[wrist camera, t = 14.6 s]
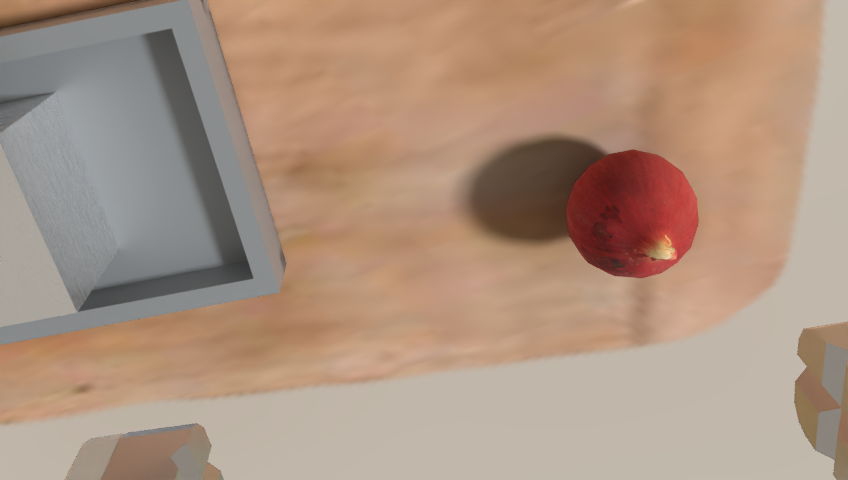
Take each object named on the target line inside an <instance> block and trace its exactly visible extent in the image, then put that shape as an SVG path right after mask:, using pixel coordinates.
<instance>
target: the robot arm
mask: <svg viewBox="0 0 848 480" xmlns="http://www.w3.org/2000/svg"><path fill="white" fill-rule="evenodd" d="M797 355H798V356H799V357H800V358H801V359H802V361H803V362H804V363H805V365H806V366H807V368H806V369H805V370H804V371H803V372H802V374H801V375H800V376H799V377H798V379H797V380H796V381H795V398H794V399H795V400H794V402H795V407H796V411H797V416H798V420H799V423H800V425H801V427H802V429H803V432H804V434H805V436H806V437H807V439H808V440H809V442H810V443H811V445H812V446H813V448H814V449H815V450H816V451H818V452H820V453H822V454H824V455H826V456H828V457H830V458H832V459H834V460H835V463H834V472H833V475H834V477H835V478H836V479H837V480H848V322H843V323H837V324H830V325H824V326H818V327H812V328H806V329H803V331H802V333H801V336H800V338H799V343H798V354H797ZM210 449H211V444H210V442H209V439H208V436H207V434H206V432H205V429H204V427H202V426H201V425H199V424H189V425H182V426H174V427H167V428H159V429H152V430H144V431H137V432H129V433H126V434H117V435H110V436H104V437H97V438H91V439H90V440H88V441H87V442H85V443H84V444H83V445H82V446H81V448H80V450H79V452H78V454H77V456H76V458H75V460H74V462H73V464H72V467H71V468H70V470H69V472H68V474H67V476H66V478H65V480H223V476H222V474H221V471H220V470H219V469H217V468H216V467H214V466H213V465H211V464H210V463H208V462H207V460H208V457H209V453H210Z"/></svg>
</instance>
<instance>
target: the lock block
mask: <svg viewBox="0 0 848 480" xmlns="http://www.w3.org/2000/svg"><path fill="white" fill-rule="evenodd" d="M118 250H119V246H118V243H117V241H116V238H115V236H114V234H113V231H112V229H111V226H110V224H109V221H108V219H107V216H106V214H105V212H104V209H103V207H102V204H101V202H100V199H99V197H98V194H97V192H96V190H95V187H94V185H93V182H92V180H91V177H90V175H89V172H88V170H87V168H86V165H85V163H84V160H83V158H82V155H81V153H80V150H79V148H78V146H77V143H76V141H75V138H74V136H73V133H72V131H71V128H70V126H69V124H68V121H67V119H66V116H65V114H64V111H63V109H62V106H61V104H60V102H59V99H58V97H57V94H56V92H55V93H50V94H45V95H40V96H35V97H30V98H25V99H20V100H15V101H10V102H5V103H0V327H3V326H9V325H14V324H19V323H25V322H30V321H35V320H41V319H46V318H51V317H57V316H62V315H67V314H73V313H77V312H78V310H79V309H80V307H81V306H82V304H83V303H84V301H85V300H86V298H87V297H88V295H89V294H90V292H91V291H92V289H93V288H94V286H95V285H96V283H97V282H98V280H99V279H100V277H101V276H102V274H103V273H104V271H105V270H106V268H107V267H108V265H109V264H110V262H111V261H112V259H113V258H114V256H115V255H116V253H117V252H118Z"/></svg>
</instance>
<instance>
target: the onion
mask: <svg viewBox="0 0 848 480" xmlns="http://www.w3.org/2000/svg"><path fill="white" fill-rule="evenodd" d="M566 206H567V227H568V232H569V236H570V238H571V239H572V241H573V243H574V244H575V246H576V247H577V249H578V250H579V252H580V253H581V255H582V256H583V257H584V259H585V260H586V261H587V262H588V263H590V264H591V265H593V266H595V267H597V268H599V269H601V270H603V271H605V272H607V273H609V274H612V275H614V276H623V277H635V278H644V277H648V276H652V275H656V274H660V273H662V272H664V271H665V270H667V269H668V268H670V267H671V266H673V265H674V264H676V263H677V262H678V261H679V260H680V259H681V258H682V257H683V256H684V254H685V253H686V252H687V251H688V250H689V249H690V248H691V246H692V243H693V239H694V236H695V233H696V230H697V227H698V209H697V198H696V196H695V194H694V191H693V190H692V188H691V186H690V184H689V183H688V181H687V179H686V177H685V176H684V174H683V172H682V171H680V170H679V169H678V168H676V167H675V166H674V165H672V164H671V163H669V162H668V161H667V160H665V159H664V158H662V157H660V156H658V155H655V154H651V153H646V152H642V151H637V150H628V151H623V152H618V153H613V154H609V155H607V156H605V157H604V158H602V159H600V160H598V161H597V162H595V163H593V164H591V165H590V166H589V167H588V168H587V169H586V171H585V172H584V173H583V174H582V175H581V176H580V177H579V179H578V180H577V181H576V182H575V183H574V186H573V188H572V191H571V194H570V196H569V199H568V201H567V204H566Z"/></svg>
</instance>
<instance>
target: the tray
mask: <svg viewBox="0 0 848 480" xmlns="http://www.w3.org/2000/svg"><path fill="white" fill-rule="evenodd" d="M55 92H56V94H57V97H58V99H59V102H60V104H61V106H62V109H63V111H64V114H65V116H66V119H67V121H68V124H69V126H70V128H71V131H72V133H73V136H74V138H75V141H76V143H77V146H78V148H79V150H80V153H81V155H82V158H83V160H84V163H85V165H86V168H87V170H88V172H89V175H90V177H91V180H92V182H93V185H94V187H95V190H96V192H97V194H98V197H99V199H100V202H101V204H102V207H103V209H104V212H105V214H106V216H107V219H108V221H109V224H110V226H111V229H112V231H113V234H114V236H115V238H116V241H117V243H118V246H119V250H118V252H117V253H116V255H115V256H114V258H113V259H112V261H111V262H110V264H109V265H108V267H107V268H106V270H105V271H104V273H103V274H102V276H101V277H100V279H99V280H98V282H97V283H96V285H95V286H94V288H93V289H92V291H91V292H90V294H89V295H88V297H87V298H86V300H85V301H84V303H83V304H82V306H81V307H80V309H79V310H78V312H77V313H73V314H67V315H62V316H57V317H51V318H46V319H41V320H35V321H30V322H25V323H19V324H14V325H9V326H3V327H0V345H3V344H8V343H13V342H19V341H24V340H29V339H35V338H40V337H45V336H51V335H56V334H61V333H67V332H72V331H77V330H83V329H88V328H93V327H99V326H104V325H109V324H115V323H120V322H125V321H131V320H136V319H141V318H147V317H152V316H157V315H163V314H168V313H173V312H179V311H184V310H189V309H195V308H200V307H205V306H211V305H216V304H221V303H227V302H232V301H237V300H243V299H248V298H253V297H259V296H264V295H269V294H275V293H280V289H281V284H282V280H283V276H284V271H285V267H286V261H285V257H284V254H283V251H282V247H281V244H280V241H279V237H278V234H277V231H276V228H275V224H274V221H273V218H272V214H271V211H270V208H269V204H268V201H267V198H266V194H265V191H264V188H263V185H262V181H261V178H260V175H259V171H258V168H257V165H256V161H255V158H254V155H253V151H252V148H251V145H250V142H249V138H248V135H247V132H246V128H245V125H244V122H243V118H242V115H241V112H240V108H239V105H238V102H237V99H236V95H235V92H234V89H233V85H232V82H231V79H230V75H229V72H228V69H227V66H226V62H225V59H224V56H223V52H222V49H221V46H220V42H219V39H218V36H217V32H216V29H215V26H214V23H213V19H212V16H211V13H210V9H209V6H208V3H207V0H139V1H134V2H129V3H124V4H119V5H114V6H109V7H104V8H99V9H94V10H89V11H84V12H80V13H75V14H70V15H65V16H60V17H55V18H50V19H45V20H40V21H35V22H30V23H25V24H20V25H15V26H11V27H6V28H1V29H0V103H5V102H10V101H15V100H20V99H25V98H30V97H35V96H40V95H45V94H50V93H55Z"/></svg>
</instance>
